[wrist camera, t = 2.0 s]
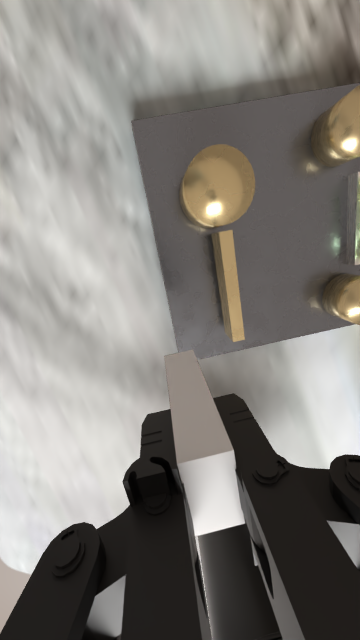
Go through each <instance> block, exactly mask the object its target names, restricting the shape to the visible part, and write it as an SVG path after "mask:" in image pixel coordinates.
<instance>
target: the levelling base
mask: <svg viewBox="0 0 360 640" xmlns="http://www.w3.org/2000/svg"><path fill="white" fill-rule="evenodd" d="M131 123H132V129H133V135H134V139H135V144H136V149H137V154H138V159H139V164H140V168H141V173H142V178H143V183H144V188H145V193H146V197H147V202H148V207H149V212H150V217H151V221H152V226H153V231H154V236H155V241H156V246H157V250H158V255H159V260H160V265H161V270H162V275H163V279H164V284H165V289H166V294H167V299H168V304H169V308H170V313H171V318H172V323H173V328H174V333H175V337H176V342H177V347H178V352H179V353H180V352H185V351H189V350H193V351H194V354H195V356H196V358H197V360H198V359H202V358H207V357H211V356H216V355H220V354H225V353H229V352H234V351H238V350H242V349H247V348H251V347H256V346H260V345H265V344H269V343H274V342H278V341H282V340H287V339H291V338H296V337H300V336H305V335H309V334H314V333H318V332H322V331H327V330H331V329H336V328H340V327H345V326H349V325H354V324H358V325H360V83H355V84H349V85H343V86H337V87H331V88H325V89H319V90H313V91H307V92H301V93H295V94H289V95H283V96H277V97H271V98H265V99H259V100H253V101H247V102H241V103H235V104H229V105H223V106H217V107H211V108H205V109H199V110H193V111H187V112H181V113H175V114H169V115H163V116H157V117H151V118H145V119H139V120H133V121H131ZM218 144H224V145H229V146H232V147H234V148H236V149H238V150H239V151H241V152H242V153H243V154H244V155H245V156H246V158H247V159H248V160H249V162H250V164H251V166H252V168H253V172H254V176H255V192H254V196H253V200H252V202H251V204H250V206H249V208H248V209H247V211H246V212H245V213H244V214H243V215H242V216H241V217H240V218H239V219H238V220H236V221H234V222H232V223H230V224H227V225H223V226H220V227H216V228H202V227H199V226H197V225H195V224H194V223H192V222H191V221H190V220H189V219H188V218H187V217H186V215H185V214H184V212H183V210H182V207H181V204H180V198H179V191H180V185H181V182H182V179H183V177H184V175H185V173H186V171H187V169H188V166H189V165H190V163H191V161H192V160H193V158H194V157H195V156H196V155H197V154H198V153H199V152H200V151H202V150H203V149H205V148H207V147H209V146H212V145H218ZM228 230H232V231H233V240H234V249H235V258H236V267H237V275H238V284H239V293H240V302H241V311H242V319H243V328H244V337H245V340H241V341H236V342H233V341H232V340H231V339H230V338H229V337H228V336H227V334H226V333H225V329H224V321H223V314H222V307H221V300H220V293H219V285H218V278H217V271H216V264H215V257H214V250H213V242H212V235H211V234H213V233H218V232H223V231H228Z"/></svg>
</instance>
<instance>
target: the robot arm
mask: <svg viewBox="0 0 360 640" xmlns="http://www.w3.org/2000/svg"><path fill="white" fill-rule="evenodd" d="M164 357H165V366H166V374H167V383H168V391H169V400H170V408H171V409H169V410H164V411H160V412H156V413H151V414H148V415H147V416H146V418H145V420H144V422H143V424H142V432H141V436H142V438H141V450H140V458H139V459H138V460H136V461H135V462H134V463H132V464H131V466H130V467H129V469H128V470H127V471H126V473H125V476H124V479H123V485H124V488H125V491H126V494H127V497H128V500H129V502H130V505H129V507H128V508H127V509H126V510H125V511H124V512H123V513H121V514H120V515H119V516H117V517H116V518H115V519H113V520H111V521H110V522H108V523H106V524H105V525H103V526H101V527H100V528H98V529H96V528H95V527H94V526H93V525H92V524H88V523H85V522H83V523H78V524H73V525H72V526H70V527H68V528H67V529H65V530H63V531H62V532H61V533H60V534H59V535H58V536H57V537H55V538H54V539H53V540H52V541H51V543H50V544H49V546H48V547H47V549H46V550H45V552H44V553H43V554H42V556H41V558H40V560H39V562H38V564H37V566H36V568H35V569H34V571H33V573H32V575H31V577H30V579H29V581H28V583H27V584H26V586H25V588H24V590H23V592H22V594H21V596H20V598H19V599H18V601H17V603H16V605H15V607H14V609H13V611H12V613H11V614H10V616H9V618H8V620H7V622H6V624H5V626H4V628H3V630H2V632H1V634H0V640H212V635H211V629H210V623H209V616H208V610H207V604H206V597H205V591H204V584H203V578H202V571H201V565H200V560H199V556H198V552H197V547H196V540H195V536H199V535H203V534H207V533H210V532H214V531H218V530H222V529H226V528H230V527H233V526H237V525H241V524H245V520H246V523H247V526H248V529H249V532H250V537H251V543H252V550H253V557H254V563H255V566H257V565H258V566H259V569H260V572H261V575H262V578H263V581H264V584H265V587H266V590H267V593H268V596H269V599H270V602H271V605H272V608H273V611H274V614H275V617H276V620H277V623H278V626H279V629H280V632H281V635H282V638H283V640H360V456H358V455H342V456H339V457H336V458H335V459H334V460H333V461H332V462H331V464H330V469H315V468H304V467H299V466H296V465H293V464H290V463H288V461H287V460H286V459H285V458H283V457H281V456H280V455H278V454H277V453H276V452H275V451H274V450H273V448H272V446H271V445H270V443H269V441H268V440H267V438H266V436H265V435H264V433H263V431H262V430H261V428H260V427H259V425H258V423H257V422H256V420H255V419H254V417H253V415H252V413H251V412H250V411H249V408H248V407H247V405H246V403H245V402H244V400H243V399H241V398H240V397H238V396H237V395H235V394H229V395H225V396H221V397H216V398H212V395H211V393H210V390H209V388H208V385H207V383H206V381H205V378H204V376H203V373H202V371H201V368H200V366H199V363H198V361H197V358H196V356H195V354H194V351H193V350H189V351H185V352H180V353H175V354H171V355H166V356H164ZM244 517H245V520H244Z"/></svg>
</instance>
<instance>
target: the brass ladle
mask: <svg viewBox="0 0 360 640" xmlns="http://www.w3.org/2000/svg"><path fill="white" fill-rule="evenodd" d="M254 192H255V176H254V172H253V168H252V166H251V164H250V162H249V160H248V159H247V158H246V156H245V155H244V154H243V153H242V152H241V151H239V150H238V149H236V148H234V147H232V146H229V145H224V144H218V145H212V146H209V147H207V148H205V149H203V150H202V151H200V152H199V153H198V154H197V155H196V156H195V157H194V158H193V160H192V161H191V163H190V165H189V166H188V169H187V171H186V173H185V175H184V177H183V179H182V182H181V185H180V191H179V198H180V204H181V207H182V210H183V212H184V214H185V215H186V217H187V218H188V219H189V220H190V221H191V222H192V223H194V224H195V225H197V226H199V227H202V228H216V227H220V226H223V225H227V224H230V223H232V222H234V221H236V220H238V219H239V218H240V217H241V216H242V215H243V214H244V213H245V212H246V211H247V209H248V208H249V206H250V204H251V202H252V200H253V196H254ZM211 235H212V242H213V250H214V257H215V264H216V271H217V278H218V285H219V293H220V300H221V307H222V314H223V321H224V329H225V333H226V334H227V336H228V337H229V338H230V339H231V340H232V341H233V342H236V341H241V340H245V337H244V328H243V319H242V311H241V302H240V293H239V284H238V275H237V267H236V258H235V249H234V240H233V231H232V230H228V231H223V232H218V233H213V234H211Z"/></svg>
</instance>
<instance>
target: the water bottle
mask: <svg viewBox="0 0 360 640" xmlns="http://www.w3.org/2000/svg"><path fill="white" fill-rule="evenodd" d="M244 520H245V517H244ZM198 540H199V548H200V555H201V562H202V569H203V577H204V584H205V591H206V598H207V605H208V613H209V619H210V627H211V634H212V640H283V638H282V635H281V632H280V629H279V626H278V623H277V620H276V617H275V614H274V611H273V608H272V605H271V602H270V599H269V596H268V593H267V590H266V587H265V584H264V581H263V578H262V575H261V572H260V569H259V566H258V565H257V566H255V563H254V557H253V550H252V543H251V537H250V532H249V529H248V526H247V523H246V520H245V524H241V525H237V526H233V527H230V528H226V529H222V530H218V531H214V532H210V533H207V534H203V535H199V536H198Z"/></svg>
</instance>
